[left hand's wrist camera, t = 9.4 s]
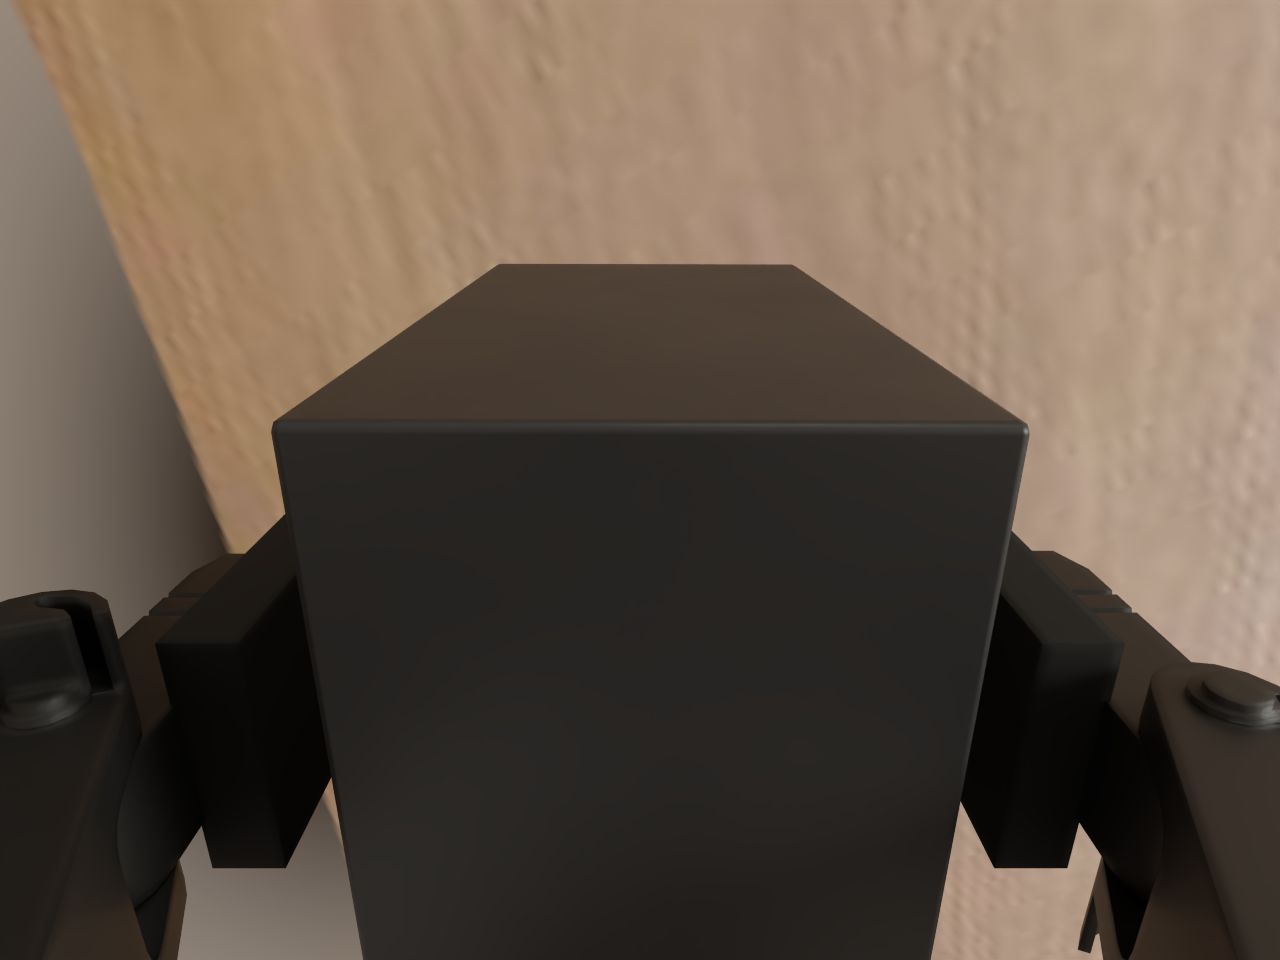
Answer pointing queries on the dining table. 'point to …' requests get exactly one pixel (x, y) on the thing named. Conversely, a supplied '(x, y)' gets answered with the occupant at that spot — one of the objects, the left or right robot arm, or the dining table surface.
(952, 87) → the dining table surface
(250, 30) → the dining table surface
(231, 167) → the dining table surface
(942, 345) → the dining table surface
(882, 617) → the bar
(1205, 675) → the left robot arm
